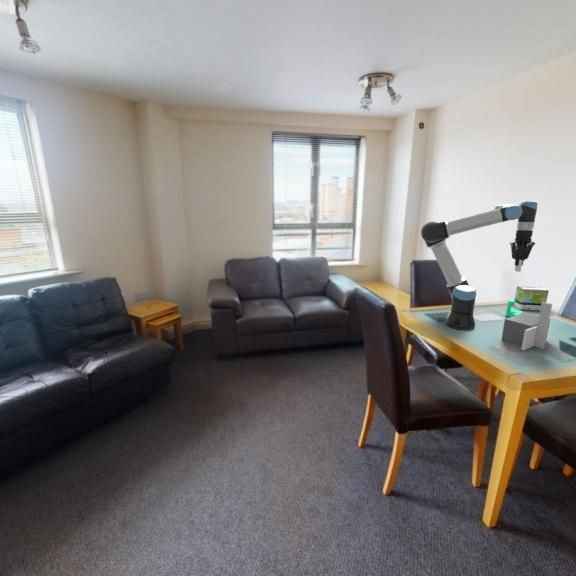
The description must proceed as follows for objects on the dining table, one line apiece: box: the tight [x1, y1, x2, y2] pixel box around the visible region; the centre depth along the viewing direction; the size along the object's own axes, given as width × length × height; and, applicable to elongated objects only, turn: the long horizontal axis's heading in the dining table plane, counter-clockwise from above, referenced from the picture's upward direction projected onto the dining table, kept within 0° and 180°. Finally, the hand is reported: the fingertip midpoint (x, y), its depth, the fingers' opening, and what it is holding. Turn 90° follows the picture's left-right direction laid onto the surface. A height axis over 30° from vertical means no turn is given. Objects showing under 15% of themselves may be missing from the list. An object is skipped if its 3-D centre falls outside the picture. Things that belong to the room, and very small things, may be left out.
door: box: [520, 302, 553, 351], centre depth 152 cm, size 10×5×22 cm, turn 120°
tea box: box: [513, 285, 550, 311], centre depth 218 cm, size 15×10×15 cm, turn 81°
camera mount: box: [505, 299, 523, 318], centre depth 204 cm, size 12×8×10 cm, turn 143°
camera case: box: [500, 312, 551, 348], centre depth 166 cm, size 20×12×12 cm, turn 120°
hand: (517, 271), depth 183 cm, fingers closed
